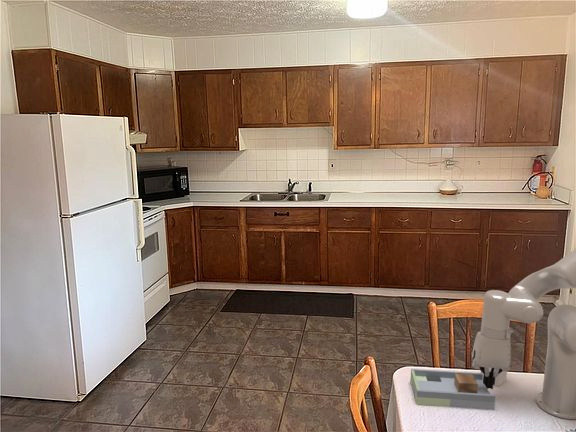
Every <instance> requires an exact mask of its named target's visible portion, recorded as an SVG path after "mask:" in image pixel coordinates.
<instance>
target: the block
mask: <svg viewBox="0 0 576 432" xmlns="http://www.w3.org/2000/svg"><path fill="white" fill-rule="evenodd" d="M454 384H455V387H456V389H457V391H458V392H461V393H476V394H477V390H478V383H477V381H476V379H475V378H474V376H473V375H472V374H456V373H455V378H454Z"/></svg>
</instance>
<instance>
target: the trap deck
mask: <svg viewBox="0 0 576 432" xmlns="http://www.w3.org/2000/svg"><path fill="white" fill-rule="evenodd" d="M455 373H456V374H472V375H473V376H474V378H475V379H476V381H477V383H478V390H477V394H476V393H461V392H458V391H457V389H456V387H455V384H454V378H455ZM482 378H483V374H482V373H480V372H471V371H470V372H468V371H452V370H438V369H437V370H435V369H421V368H420V369H419V368H410V385H411V387H412V388H411V389H412V392H413V397H414V400H415V403H416V405H418V406H431V407H449V408H460V409H472V410H473V409H477V410H490V411H495V405H496V395H495V394H491V392H490V391H489V389H487V388H486V386H485V384H483V380H482Z"/></svg>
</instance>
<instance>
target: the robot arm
mask: <svg viewBox="0 0 576 432" xmlns="http://www.w3.org/2000/svg"><path fill="white" fill-rule="evenodd" d="M560 289H561V290H562V289H576V247H575V248H574V249H573V250H572V251H570V252H569V253H567V254H566V255H565V256H564V257H562V258H561V259H559V261H557V262H555V263H554V264H552V265H550V266H547V267H544V268H542V269H540V270H538V271H535V272H532V273H531V274H529V275H528V276H526V277H524V278H523V279H521V280H520V281H519V282H518V283H517V284H515V285H514V286H513V287H511V288H510V290H509V292H506V291H503V290H499V289H498V290H497V289H496V290H495V289H491V290H487V291H486V292H485V293H484V297H483V306H482V315H481V316H482V317H481V324H480V331H478V332H477V333H476V336H475V339H474V342H473V348H472V352H471V353H472V354H471V356H472V357H471V358H472V360H473V361H472V363H471V367H472V368H473V369H476V370H480V372H481V371H482V372H483V373H484V376H483V384H485V386H486V388H487V389H488V390H493V388H494V385H495V377H497V375H498V374H499V373H501V372H502V371H503V372H504V371H507V372H509V371H510V367H511V359H512V347H511V346H512V345H511V336H510V337H509V334H510V333H511V334H514V329H513V328H511V327H510V322H511V321H510V320H513V321H517V322H521V323H526V324H535V323H537V322H539V321H541V320H542V318H543V316H544V309H543V306H542V305H541V303H540V302H539V301H538V299H540V298H541V297H543V296H544V295H546V294H547V293H550V292H551V291H556V290H560ZM509 327H510V328H511V329H510V328H509ZM511 334H510V335H511ZM544 365H545V367H544V374H543V375H544V376H543V384H542V385H543V386H542V391H541V392H539V393H537V394H536V396H535V403H536V404H537V406H538V407H539V408H540V409H542V410H543V411H544V412H546V413H548V414H550V415H552V416H554V417H558V418H561V419H565V420H576V306H574V305H572V304H567V303H566V304H559V305H557V306H555V307H553V308H552V309H551V311H550V312H549V314H548V317H547V348H546V357H545V364H544ZM489 368H491V370H490V372H489Z"/></svg>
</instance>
